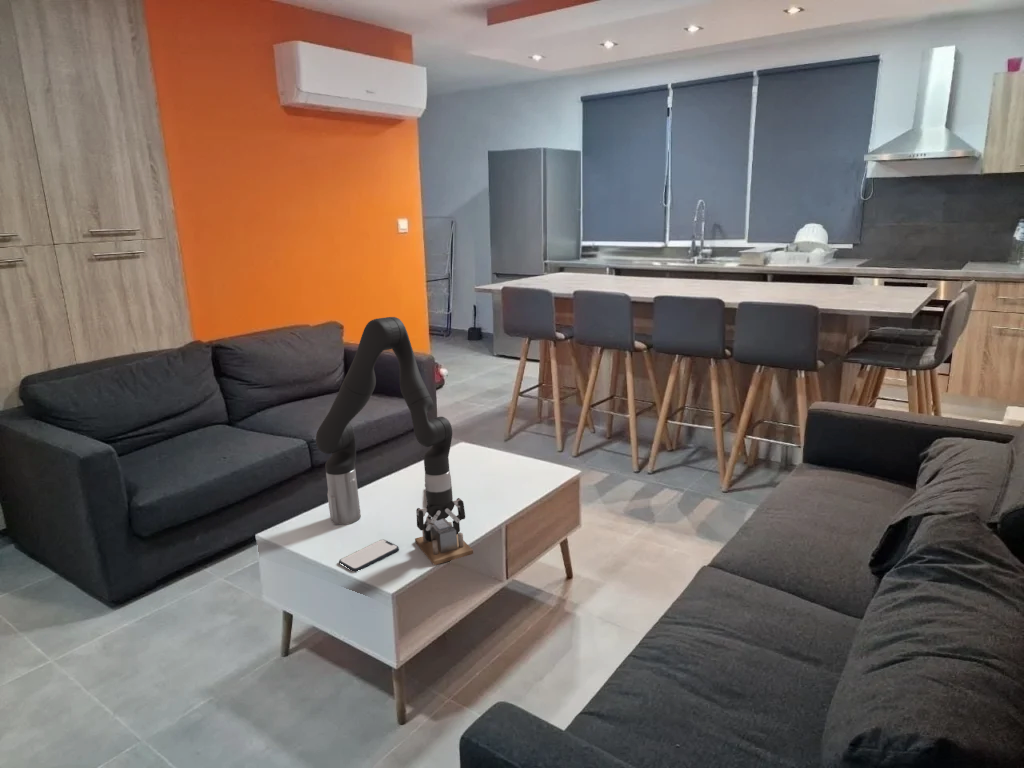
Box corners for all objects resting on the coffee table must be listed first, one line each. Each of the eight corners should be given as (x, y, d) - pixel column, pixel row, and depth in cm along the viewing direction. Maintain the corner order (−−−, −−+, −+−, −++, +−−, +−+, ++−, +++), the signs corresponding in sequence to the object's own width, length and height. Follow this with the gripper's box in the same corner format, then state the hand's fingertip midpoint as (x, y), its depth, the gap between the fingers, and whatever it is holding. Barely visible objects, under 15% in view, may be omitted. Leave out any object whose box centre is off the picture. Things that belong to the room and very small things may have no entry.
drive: (441, 553, 191) (439, 533, 190) (429, 539, 200) (427, 520, 198) (457, 549, 193) (456, 529, 192) (444, 535, 202) (443, 516, 201)
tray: (434, 565, 187) (432, 548, 186) (415, 542, 201) (413, 526, 200) (473, 553, 193) (472, 537, 191) (452, 532, 206) (450, 516, 205)
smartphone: (355, 575, 186) (401, 551, 197) (354, 570, 185) (400, 546, 196) (337, 565, 192) (383, 542, 203) (336, 560, 191) (382, 538, 202)
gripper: (419, 496, 186) (424, 548, 190) (466, 484, 192) (470, 536, 196) (410, 487, 192) (415, 538, 196) (456, 476, 198) (460, 526, 202)
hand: (442, 537), depth 196 cm, fingers open, 8 cm apart
